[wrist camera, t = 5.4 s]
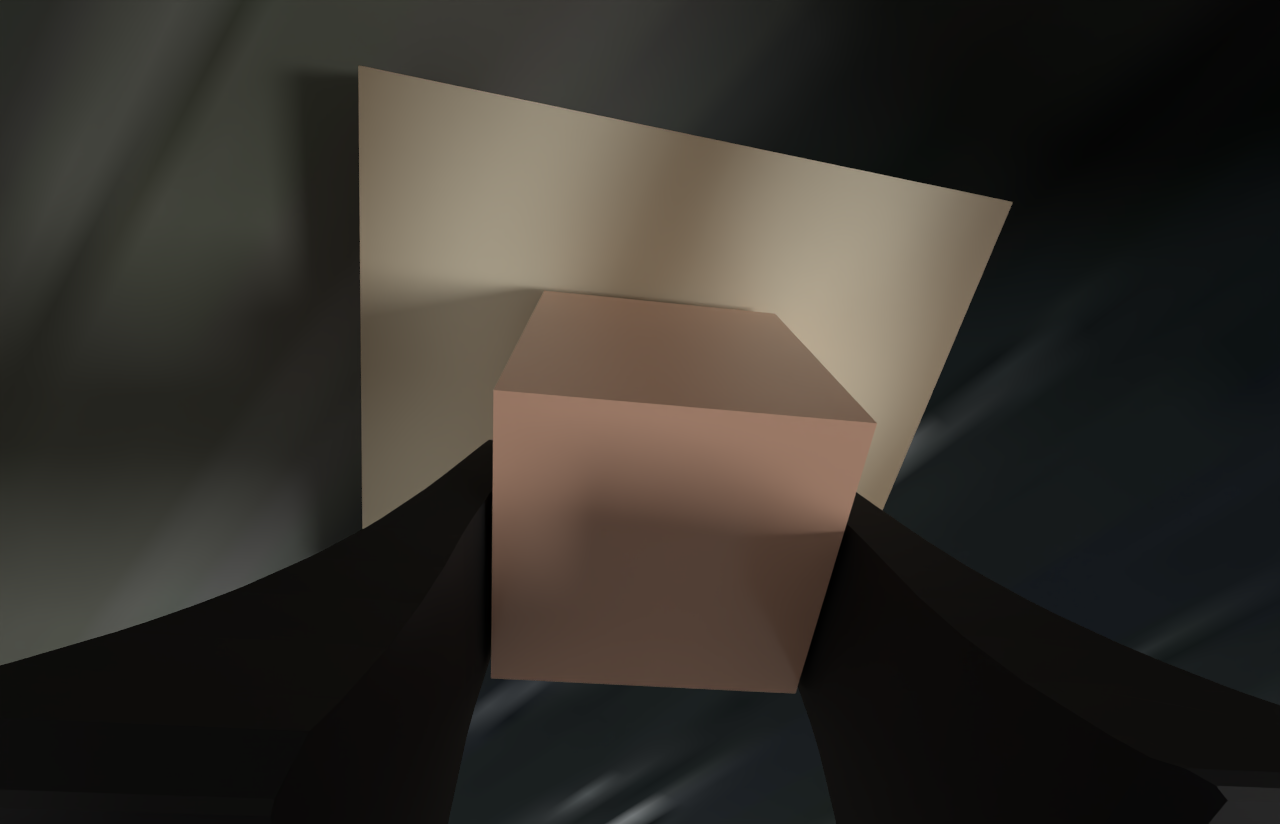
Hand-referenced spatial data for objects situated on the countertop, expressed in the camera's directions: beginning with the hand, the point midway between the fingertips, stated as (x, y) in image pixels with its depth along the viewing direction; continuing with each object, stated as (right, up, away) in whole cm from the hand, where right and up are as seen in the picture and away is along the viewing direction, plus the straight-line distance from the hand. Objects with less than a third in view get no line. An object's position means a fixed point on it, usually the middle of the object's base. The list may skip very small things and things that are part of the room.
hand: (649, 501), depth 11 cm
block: (0, +2, +2) cm, 2 cm away
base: (0, +2, +4) cm, 5 cm away
